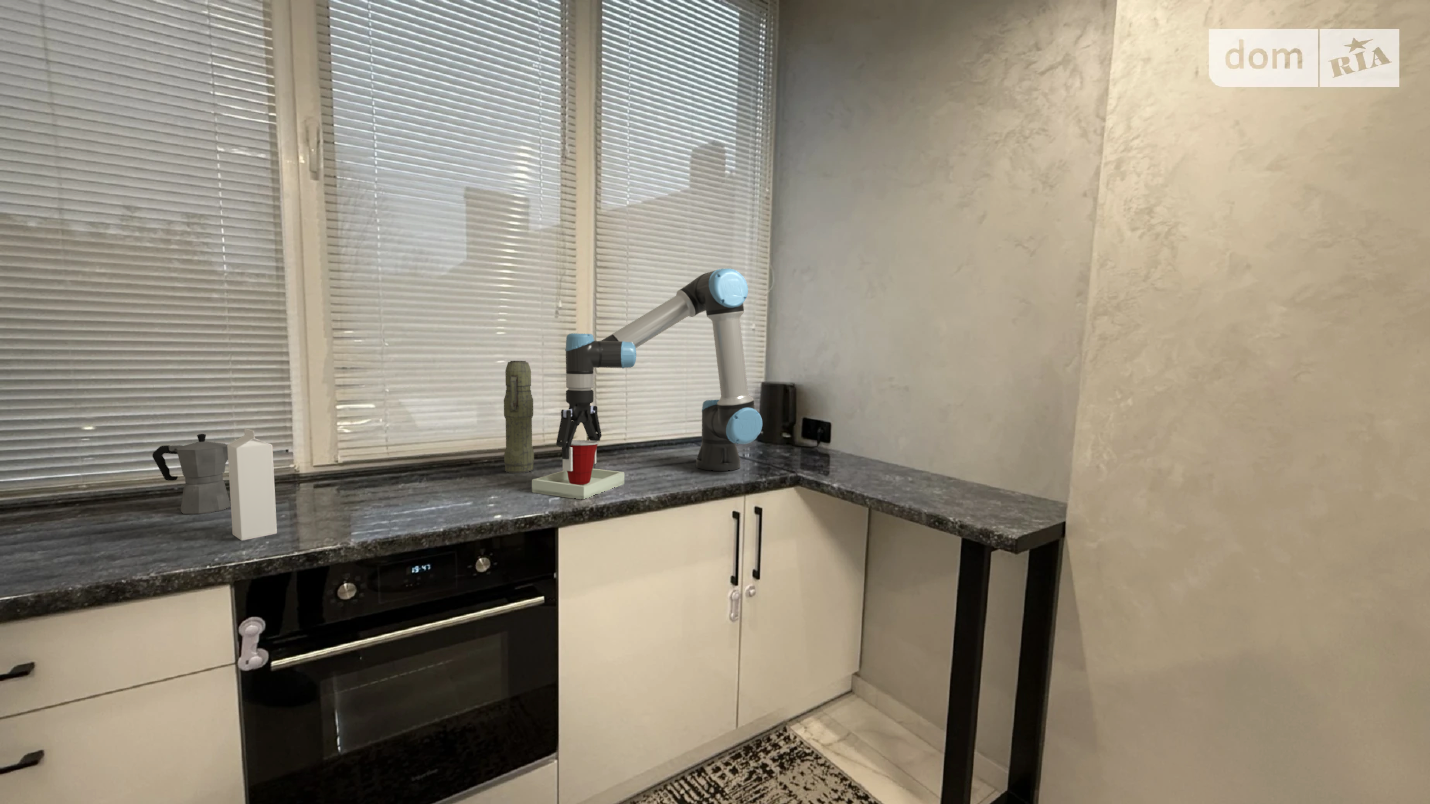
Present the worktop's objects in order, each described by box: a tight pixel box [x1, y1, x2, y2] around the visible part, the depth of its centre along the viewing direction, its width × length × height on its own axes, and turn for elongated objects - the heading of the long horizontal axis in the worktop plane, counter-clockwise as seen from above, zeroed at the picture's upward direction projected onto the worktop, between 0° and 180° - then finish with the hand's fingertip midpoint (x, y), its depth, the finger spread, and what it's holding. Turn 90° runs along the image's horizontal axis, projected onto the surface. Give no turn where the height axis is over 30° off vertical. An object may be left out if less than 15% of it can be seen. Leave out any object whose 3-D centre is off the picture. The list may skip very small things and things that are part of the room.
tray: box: [531, 468, 625, 500], centre depth 164 cm, size 17×20×4 cm
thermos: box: [503, 360, 535, 474], centre depth 184 cm, size 9×12×35 cm
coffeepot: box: [152, 433, 231, 516], centre depth 135 cm, size 15×9×18 cm, turn 116°
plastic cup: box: [567, 439, 600, 485], centre depth 164 cm, size 11×11×12 cm
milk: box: [227, 427, 278, 542], centre depth 119 cm, size 6×6×22 cm
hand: (580, 466), depth 164 cm, fingers closed on plastic cup, 11 cm apart
